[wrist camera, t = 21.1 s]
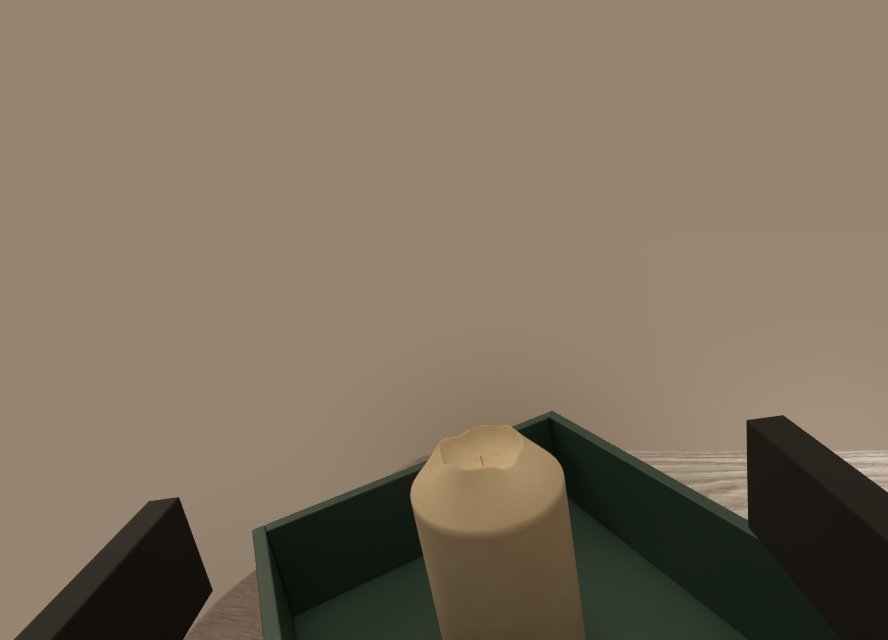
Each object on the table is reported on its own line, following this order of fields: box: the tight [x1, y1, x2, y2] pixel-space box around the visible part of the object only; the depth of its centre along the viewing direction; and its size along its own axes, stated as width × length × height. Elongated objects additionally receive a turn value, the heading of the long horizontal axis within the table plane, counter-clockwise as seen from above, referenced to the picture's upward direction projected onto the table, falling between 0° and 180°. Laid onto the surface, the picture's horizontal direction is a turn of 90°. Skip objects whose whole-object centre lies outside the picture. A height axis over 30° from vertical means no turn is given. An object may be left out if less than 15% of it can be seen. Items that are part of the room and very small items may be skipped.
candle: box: [410, 425, 586, 640], centre depth 19 cm, size 6×6×10 cm
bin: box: [252, 411, 841, 640], centre depth 20 cm, size 17×17×6 cm
